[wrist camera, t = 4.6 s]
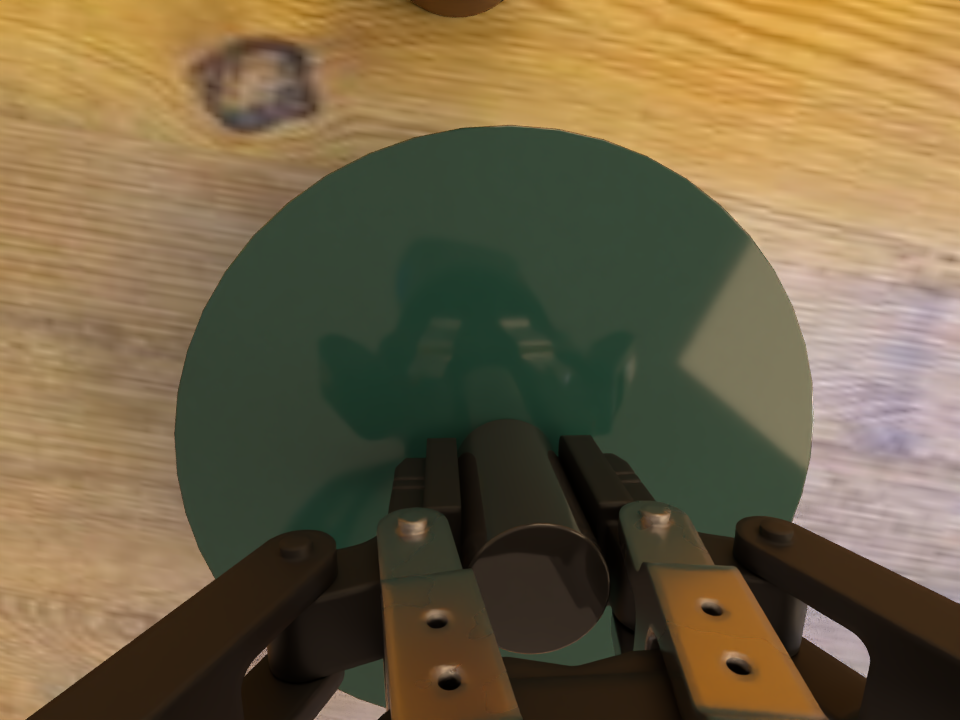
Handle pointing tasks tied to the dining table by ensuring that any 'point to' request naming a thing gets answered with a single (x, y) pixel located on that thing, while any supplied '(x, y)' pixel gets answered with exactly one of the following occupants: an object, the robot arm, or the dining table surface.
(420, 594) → the robot arm
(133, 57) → the dining table surface
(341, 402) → the lid
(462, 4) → the brush
